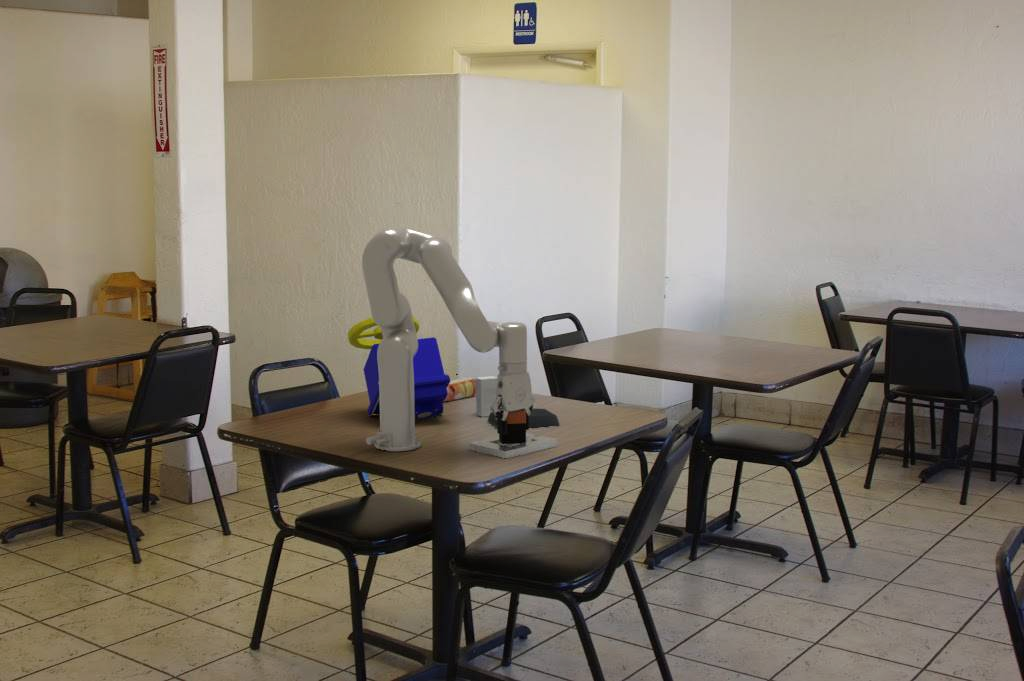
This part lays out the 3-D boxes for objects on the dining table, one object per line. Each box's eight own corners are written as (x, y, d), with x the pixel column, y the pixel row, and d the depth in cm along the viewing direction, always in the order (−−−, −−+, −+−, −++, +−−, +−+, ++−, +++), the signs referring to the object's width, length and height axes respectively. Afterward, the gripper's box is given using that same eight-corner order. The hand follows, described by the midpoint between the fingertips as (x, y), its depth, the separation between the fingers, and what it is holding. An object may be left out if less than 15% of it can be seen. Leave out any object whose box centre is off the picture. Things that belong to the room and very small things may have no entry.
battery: (526, 443, 303) (526, 407, 301) (501, 444, 301) (501, 408, 300) (522, 439, 307) (523, 404, 306) (498, 441, 306) (498, 405, 304)
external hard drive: (486, 423, 338) (486, 410, 338) (546, 419, 344) (546, 406, 344) (498, 432, 326) (498, 418, 326) (560, 428, 332) (560, 414, 331)
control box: (459, 398, 330) (438, 307, 340) (371, 410, 321) (352, 316, 331) (441, 427, 352) (422, 341, 362) (358, 439, 343) (341, 350, 354)
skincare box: (493, 413, 351) (493, 375, 350) (498, 415, 348) (498, 377, 346) (475, 414, 349) (475, 377, 347) (481, 417, 345) (480, 379, 343)
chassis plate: (505, 458, 292) (505, 451, 292) (469, 450, 302) (469, 442, 302) (556, 446, 306) (556, 439, 306) (520, 438, 316) (520, 431, 316)
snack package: (433, 406, 363) (433, 386, 362) (419, 403, 368) (419, 383, 367) (478, 397, 379) (478, 377, 378) (464, 394, 383) (464, 375, 382)
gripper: (500, 373, 292) (500, 439, 295) (545, 365, 305) (545, 428, 307) (480, 370, 298) (480, 434, 300) (525, 363, 310) (525, 424, 312)
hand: (513, 431), depth 304 cm, fingers closed on battery, 7 cm apart
